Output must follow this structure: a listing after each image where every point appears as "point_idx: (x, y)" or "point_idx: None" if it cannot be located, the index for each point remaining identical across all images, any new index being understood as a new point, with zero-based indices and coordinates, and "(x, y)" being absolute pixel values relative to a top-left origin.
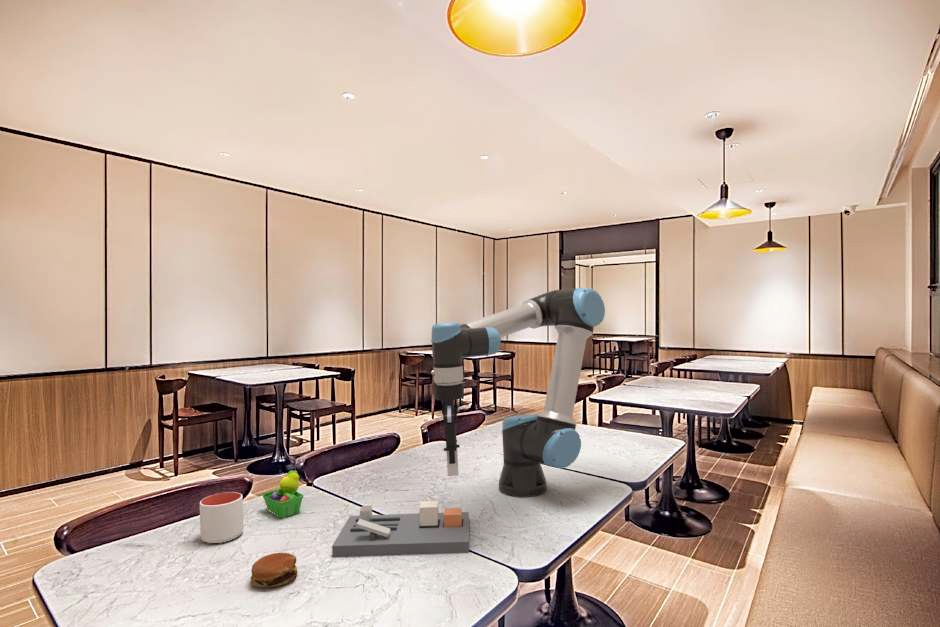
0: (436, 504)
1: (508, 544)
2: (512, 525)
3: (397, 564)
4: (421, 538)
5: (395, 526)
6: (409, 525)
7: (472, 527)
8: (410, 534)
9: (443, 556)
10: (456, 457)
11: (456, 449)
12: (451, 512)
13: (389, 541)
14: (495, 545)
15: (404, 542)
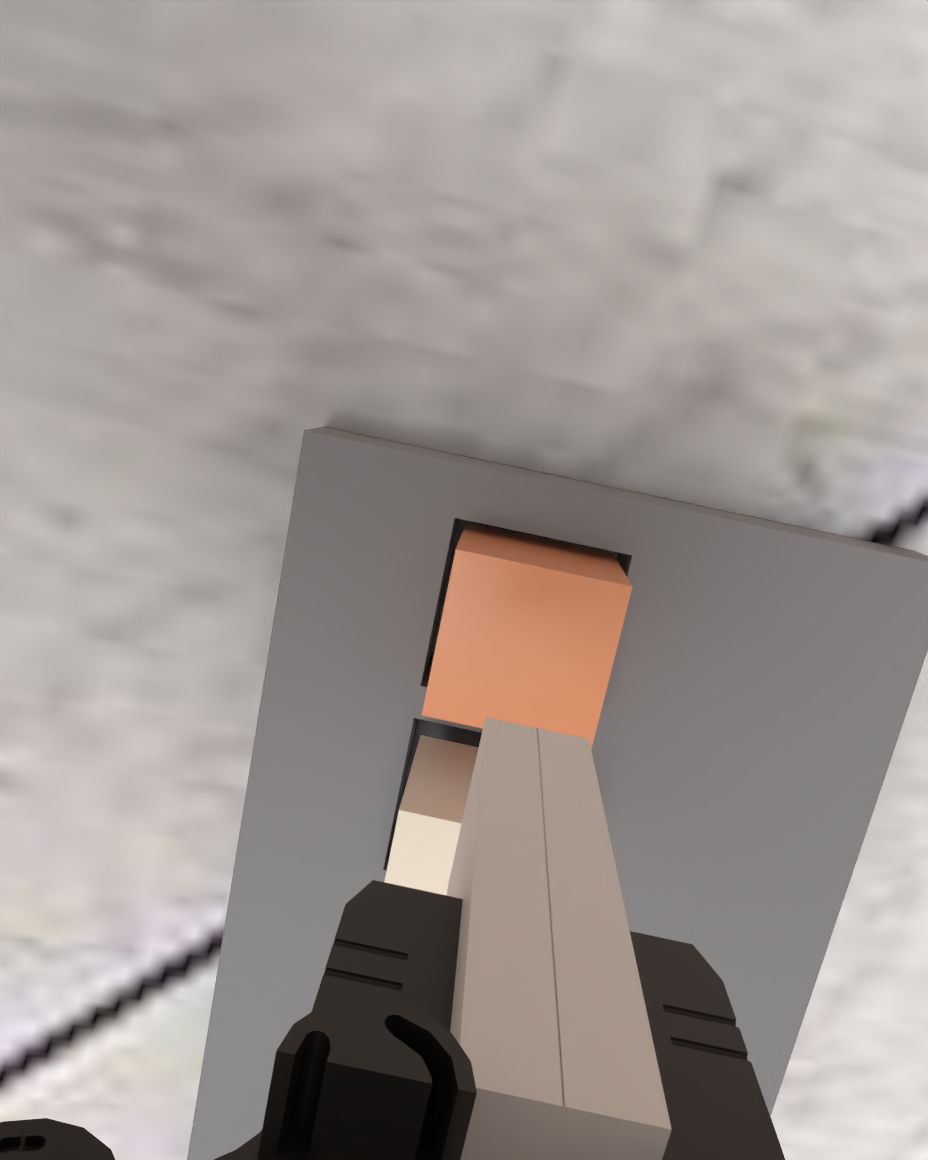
0: None
1: (896, 191)
2: (521, 38)
3: (899, 1038)
4: (749, 912)
5: None
6: None
7: (460, 425)
8: None
9: (903, 742)
10: (627, 973)
11: (577, 1129)
12: (544, 669)
13: None
14: (872, 311)
15: (776, 1034)
